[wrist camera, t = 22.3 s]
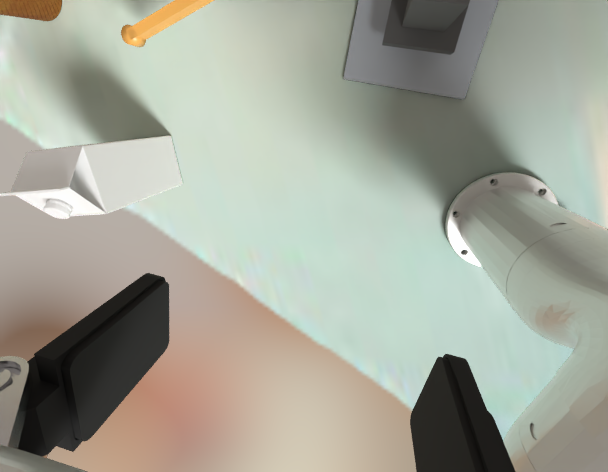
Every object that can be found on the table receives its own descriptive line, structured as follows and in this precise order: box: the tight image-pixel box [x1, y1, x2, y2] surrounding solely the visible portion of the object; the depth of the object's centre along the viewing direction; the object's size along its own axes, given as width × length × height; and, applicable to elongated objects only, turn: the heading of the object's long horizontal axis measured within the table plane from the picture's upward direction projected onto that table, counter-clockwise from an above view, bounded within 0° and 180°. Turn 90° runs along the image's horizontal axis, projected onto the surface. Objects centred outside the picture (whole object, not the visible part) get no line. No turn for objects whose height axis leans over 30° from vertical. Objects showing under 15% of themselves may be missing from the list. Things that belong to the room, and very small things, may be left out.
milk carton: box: [0, 135, 183, 219], centre depth 37 cm, size 7×7×19 cm
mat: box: [343, 0, 499, 99], centre depth 33 cm, size 14×14×1 cm
